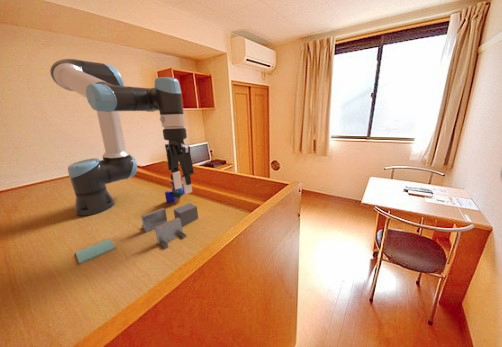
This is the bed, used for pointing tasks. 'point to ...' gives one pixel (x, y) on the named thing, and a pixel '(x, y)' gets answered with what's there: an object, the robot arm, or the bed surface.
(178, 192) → the toy character
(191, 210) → the grey rectangular block
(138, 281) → the bed surface
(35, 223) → the bed surface
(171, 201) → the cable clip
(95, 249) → the mat
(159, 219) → the channel
